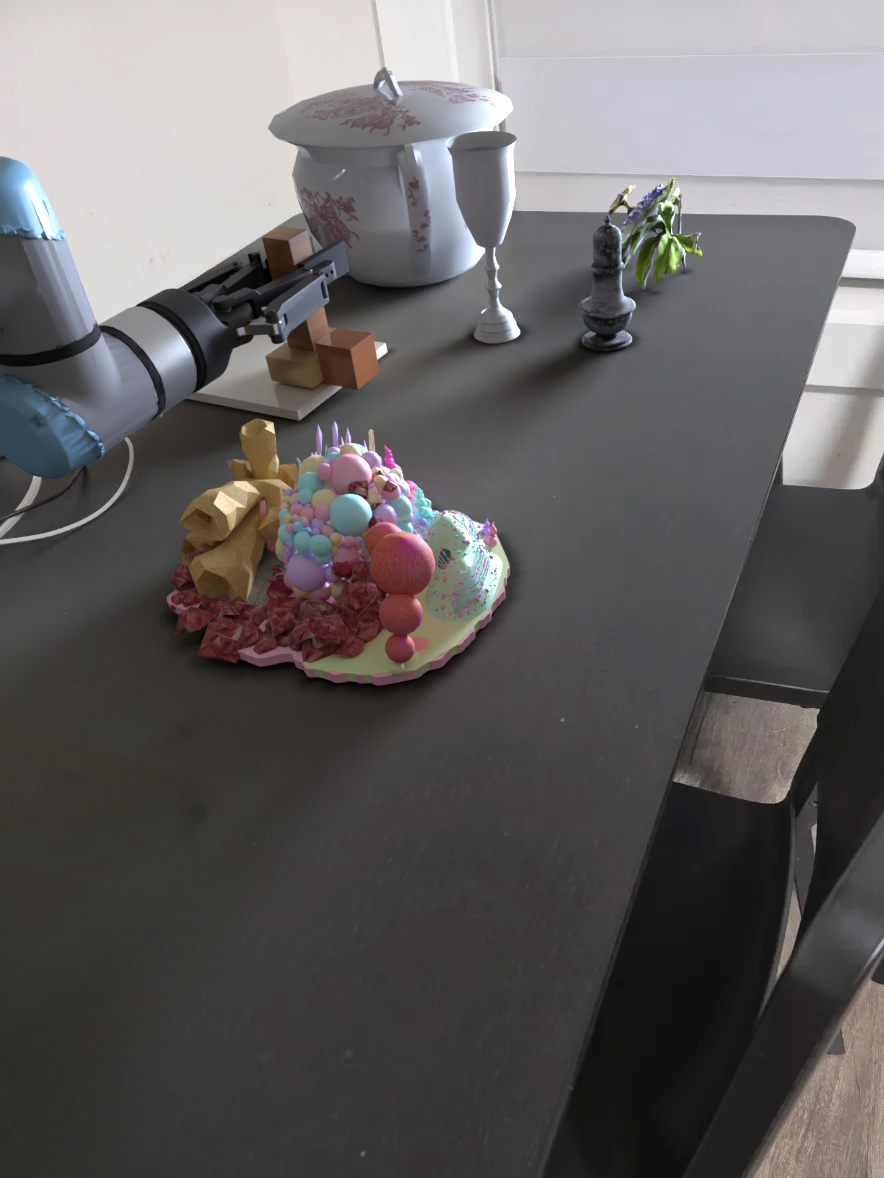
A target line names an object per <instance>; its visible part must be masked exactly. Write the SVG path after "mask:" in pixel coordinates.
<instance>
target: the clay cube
mask: <svg viewBox="0 0 884 1178" xmlns="http://www.w3.org/2000/svg"><path fill="white" fill-rule="evenodd" d="M336 328H337V329H335V330H334V331H332V332H331V333H330V334H328V335H327V336H325V337H324V338H322V339H321V340H320V341H318V342H317V343H316V348H317V353H318V358H319V362H320V367H321V372H322V376H323V381H324V383H325V384H330V385H335V386H340V387H342V388H344V389H345V388H346V389H350V390H356V391H358V390H360V389H361V388H362V387H364V386H365V385H366V384H367V383H369V382H370V381H371V380H372V379H374V378H375V377H376V376H377V375H379V374H380V367H379V361H378V360H377V355H376V349H375V343H374V341H375V338H374V337H375V336H374V333H373V332H369V331H364V330H358V329H353V328H347V327H346V328H345V327H340V326H338V327H336Z"/></svg>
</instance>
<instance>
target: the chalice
mask: <svg viewBox="0 0 884 1178" xmlns="http://www.w3.org/2000/svg"><path fill="white" fill-rule="evenodd" d="M517 139H518V137H517V136H516V134H513V133H510V132H506V131H501V130H492V131H477V132H469V133H464V134H460V135H457V136H454V137H451V138H450V139H448V140H447V141H446V143H445V145H446V146H447V148H448V150H449V152H450V154H451V156H452V165H453V175H454V184H455V194H456V201H457V204H458V206H459V209H460V211H461V214H462V216H463V219H464V221H465V223H466V225H467V227H468V229H469V231H470V233H471V235H472V237H473V238H474V240H475V242H476V244H477V245H478V246H480V247H483V248H485V255H486V257H485V258H486V259H485V265H484V267H483V269H484V270H485V272H486V275H487V277H488V278H487V283H486V284H485V285H484V289H486V291H487V292H488V296H489V304H488V305H487V307H486V308H484V309H483V310H481V312H480V314H479V315H478V320H477V323H476V329H475V331H474V333H473V337H474V339H476V340H477V341H479V342H482V343H486V344H501V343H507V342H509V341H513V340H514V339H517V338H518V337H519V336H520V335H521V330H520V328H519V327H518V325H517V321H516V319H515V318H514V317H513V316H514V315H513V313H512V311H511V310H510V309H509V308H508V307H504V306H503V305H502V304H501V303H500V300H499V291H500V290H501V288H502V284H501V283H500V282H499V280H498V277H497V275H498V270H499V269H500V265H499V264H498V263H497V259H496V256H495V254H496V248H497V247H499V246H500V245H502V244H503V242H504V239H505V236H506V233H507V230H508V227H509V223H510V222H511V219H512V214H513V209H514V208H513V207H514V203H515V199H516V186H515V172H514V171H515V170H514V169H515V168H514V149H515V145H516V143H517Z"/></svg>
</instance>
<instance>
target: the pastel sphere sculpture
mask: <svg viewBox="0 0 884 1178" xmlns="http://www.w3.org/2000/svg"><path fill="white" fill-rule="evenodd" d="M338 427H339V426H338V424H337V422H336V420H334V421H333V423H332V425H331V433H332V444H333V446H329V448H328V443H326V444H325V447H324V455H322V451H323V433H322V430H321V428H320V425H319V424H317V427H316V428H317V429H316V435H315V439H316V440H315V441H316V443H315V444H316V451H314V453H313V451H312V450H311V452H310V456H308V457H306V458H305V459H303V460H302V461H301V460H300V458H299V456H296V461H297V463H298V466H299V467H297V463H287V464H280V460H279V456H278V454H277V452H278V451H277V438H276V432H275V425H274V422H272V421H269V420H266V419H265V420H264V419H260V418H254V419H252V420H250V421H249V422H247V423H245V424H243V425H242V426H241V427H240V430H239V432H238V435H239V440H240V445H241V449H242V451H243V453H244V455H245V457H246V459H240V458H233V459H229V460H226V463H227V465H228V468H229V471H230V473H231V475H232V477H233V479H234V480H228V481H227V482H226V483H225V484H223V485H221V486H220V487H215V488H211V489H208V490H206V491H205V492H202V494H200V495H198V496H197V497H195V498H194V499H192V501H191V502H190V503H189V505H188V506H187V507H186V508H185V510H183V513H182V515H181V517H180V519H179V521H178V522H177V524H178V525H180V526H182V527H184V528H185V529H187V530H189V531H190V532H189V533H188V534H187V535H186V536H185V537H184V539H183V543H182V547H181V551H180V557H181V564H179V563H178V564H177V566H176V568H175V570H174V571H173V573H172V574H171V576H170V577H169V585H170V586H173V587H174V590H173V591H172V592H171V593H169V594H168V595H167V596H166V602H167V604H168V608H169V609H170V611H172V612H173V613H175V614H177V615H178V616H177V617H178V618H177V622H176V627H175V632H174V638H176V637H179V636H182V635H186V634H189V633H193V632H197V631H200V630H202V629H204V628H205V627H206V630H205V633H204V635H203V638H202V641H201V644H200V647H199V650H198V653H197V656H199V657H204V658H209V659H213V660H218V661H223V662H229V663H233V664H236V663H237V662H238V661H239V660H241V661H245V662H247V663H249V664H252V665H254V666H258V667H268V666H272V665H277V664H282V663H287V662H288V663H294V665H295V667H296V668H297V669H299V670H302V671H303V672H304V673H305V675H306V676H307V677H308V678H321V679H325V680H327V681H331V682H333V683H335V684H336V683H337V684H341V683H347V682H353V683H354V682H355V683H358V684H372V685H375V686H386V685H390V684H396V683H401V682H406V681H411V680H416V679H419V678H420V677H422V676H423V675H424V674H426V673H427V672H428V671H432V670H437V669H440V668H441V669H442V667H444V666H445V665H446V664H447V662H449V661H450V660H451V658H452V657H454V656H455V655H458V654H461V653H463V652H464V651H465V649H466V648H467V647H469V646H470V644H471V643H472V642H473V641H475V639H476V633H477V632H478V631H480V630H482V629H484V628H485V627H486V626H487V625H488V624H489V623H490V622H492V615H493V613H494V612H495V611H496V610H497V608H498V607H499V606H500V605H502V603H503V602H504V601H505V600H506V586H507V583H508V581H507V580H508V578H509V577H510V575H511V566H510V562H509V560H508V557H507V554H506V553H505V550H504V548H503V545H502V543H501V541H500V539H499V537H498V535H497V533H498V529H497V528H496V526H495V520H493V522H491V524H490V522H489V517H486V519H485V521H484V523H481V522H478V521H475V520H472V519H471V517H469V516H468V515H467V514H465V513H463V512H461V511H459V510H454V509H452V510H451V509H446V510H445V509H444V510H443V511H438V510H433V509H432V501H431V500H430V499H428V498H426V497H425V494H424V491H423V489H421V487H418V485H417V484H416V483H415V482H414V481H412V480H405V478H404V475H403V470H402V467H400V465H398V464H397V463H395V460H394V458H393V457H394V455H393V454H392V450H391V449H389V448H388V447H387V446H386V444H383V448H384V450H385V456H384V457H383V459H382V456H381V455H380V456H379V454H378V453H377V452H376V445H375V444H376V442H375V433H374V430H373V429H371V428H369V429H368V434H367V435H368V447H367V444H366V441H365V439H364V440H363V444H362V445H361V444H359V443H354V442H352V437H351V433H350V430H349V427H346V433H345V438H344V439H343V436H341V437H340V442H339V430H338ZM490 525H491V526H490Z"/></svg>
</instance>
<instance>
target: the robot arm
mask: <svg viewBox="0 0 884 1178" xmlns="http://www.w3.org/2000/svg"><path fill="white" fill-rule="evenodd" d="M309 238H310V243H311V248H312V252H313V255H311V256H310V257H308V258H306V259H304V260H303V261H301V262H299V263H298V270H296V271H293V272H291V273H289V274H287V275H285V276H283V277H281V278H279V279H276V280H274V281H272V277H271V273H270V269H269V265H268V261H267V257H266V258H264V261H262V257H261V253H260V252H258V251H257V252H256V251H253V252H248V253H247V257H248V261H249V263H248V264H246V265H245V266H244V264H243V262H242V261H239V260H234V261H232V262H229V263H228V264H226V265H224V266H222V267H219V268H218V269H215V270H212V271H211V272H209V273H207V274H204V275H203V276H201V277H199V278H197V279H194V280H193V281H190V282H188V283H186V284H184V285H182V286H180V287H178V288H174V287H173V288H172V287H171V288H166V289H163V290H161V291H159V292H157V293H155V294H154V295H152V296H150V297H148V298H145V299H144V300H142V301H140V302H139V303H137V304H135V305H134V306H131V307H127V308H126V309H124V310H123V311H120V312H119V313H116V314H114V315H113V316H112V317H109V318H108V319H106V320H104V321H101V323H98V321H97V319H96V317H95V314H94V311H93V309H92V305H91V303H90V301H89V299H88V298H89V297H88V296H87V293H86V290H85V288H84V285H83V283H82V280H81V277H80V274H79V272H78V269H77V266H76V264H75V261H74V258H73V255H72V253H71V250H70V247H69V245H68V241H67V235H66V233H65V231H64V230H63V229H62V228H61V225H60V223H59V220H58V219H57V216H56V213H55V212H54V209H53V207H52V205H51V203H50V201H49V198H48V196H47V194H46V193H45V191H44V189H43V186H42V185H41V183H40V180H39V179H38V177H37V175H36V173H35V172H34V171H33V170H32V168H30V167H29V166H28V165H27V164H25V163H23V161H20V160H17V159H14V158H11V157H9V156H3V155H2V156H1V155H0V453H1V454H2V455H3V457H5V458H6V459H7V460H8V461H9V462H11V463H12V464H13V465H14V466H15V467H16V468H18V469H20V470H22V471H23V472H25V473H27V474H29V475H30V476H33V477H38V478H41V479H45V480H58V479H61V478H64V477H67V476H68V475H70V474H71V473H73V472H75V471H78V470H79V469H81V468H82V467H84V466H86V465H87V464H89V463H91V462H95V461H99V460H101V458H103V457H104V456H105V454H106V453H107V452H108V451H110V450H111V449H112V448H113V447H115V446H117V445H118V444H120V443H121V442H122V441H124V440H125V439H126V438H128V437H129V436H131V435H132V434H133V433H135V432H137V431H138V430H139V429H141V428H143V426H145V425H147V424H149V423H151V422H152V421H154V420H160V419H162V418H163V417H164V416H163V415H164V413H165V412H167V411H169V410H170V409H172V408H173V407H175V406H176V405H178V404H180V403H181V402H182V401H185V400H186V398H187V397H189V396H190V395H191V394H192V393H195V392H197V391H199V390H200V389H202V388H204V387H205V386H207V385H208V384H210V383H211V382H213V381H214V380H216V379H217V378H219V377H220V376H221V375H222V374H223V373H224V372H225V371H226V369H227V366H228V363H229V359H230V356H231V353H232V350H233V349H234V348H237V347H239V346H241V345H244V344H247V343H249V342H251V341H252V339H253V338H254V335H268V337H269V338H271V341H272V343H273V344H281V343H283V342H285V341H286V339H287V337H288V335H289V333H290V332H291V331H292V330H293V329H295V328H296V327H297V326H299V325H300V324H301V323H303V322H304V321H305V320H306V319H308V318H309V317H310V316H312V315H313V314H314V313H315V312H317V311H318V310H319V309H321V308H322V307H323V306H324V307H325V306H326V305H327V304H329V303H330V296H329V290H328V285H329V284H331V283H332V282H335V281H336V280H337V279H339V278H340V277H342V276H344V275H346V274H345V273H347V272H348V271H349V266H348V261H347V255H346V250H345V245H344V241H341V240H337V241H335V242H333V243H331V244H330V245H328V246H326V247H325V248H321V249H320V250H318V251H315V247H314V242H313V236H309Z"/></svg>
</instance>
